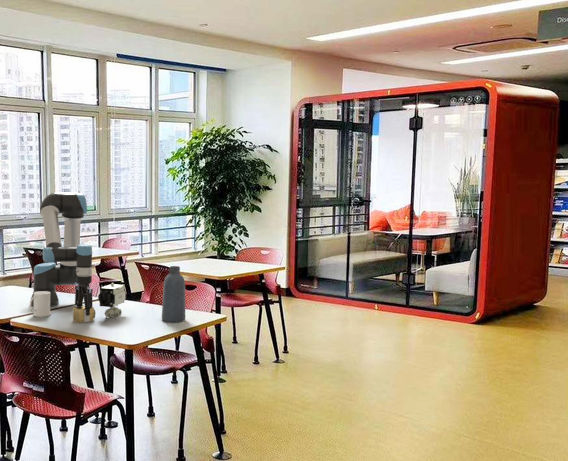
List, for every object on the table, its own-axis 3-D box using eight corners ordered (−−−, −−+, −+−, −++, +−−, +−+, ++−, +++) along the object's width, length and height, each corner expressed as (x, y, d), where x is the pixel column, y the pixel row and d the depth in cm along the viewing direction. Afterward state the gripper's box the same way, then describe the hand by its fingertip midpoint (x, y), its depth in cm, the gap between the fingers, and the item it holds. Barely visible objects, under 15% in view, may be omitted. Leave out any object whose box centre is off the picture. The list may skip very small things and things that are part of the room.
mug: (34, 318, 315) (34, 295, 314) (24, 316, 319) (24, 293, 318) (54, 315, 324) (54, 292, 324) (43, 312, 329) (44, 290, 328)
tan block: (73, 320, 313) (73, 307, 312) (90, 318, 320) (90, 305, 319) (78, 323, 309) (79, 309, 308) (96, 320, 316) (96, 307, 315)
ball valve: (112, 320, 317) (113, 286, 315) (97, 319, 318) (97, 285, 317) (128, 313, 334) (128, 281, 333) (113, 312, 336) (114, 280, 335)
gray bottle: (159, 318, 326) (161, 265, 324) (182, 317, 331) (183, 265, 328) (163, 323, 315) (165, 268, 313) (187, 322, 319) (188, 268, 317)
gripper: (67, 273, 316) (67, 318, 318) (86, 278, 303) (85, 324, 304) (81, 272, 322) (80, 316, 323) (100, 277, 308) (99, 322, 310)
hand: (83, 320), depth 314 cm, fingers open, 6 cm apart
